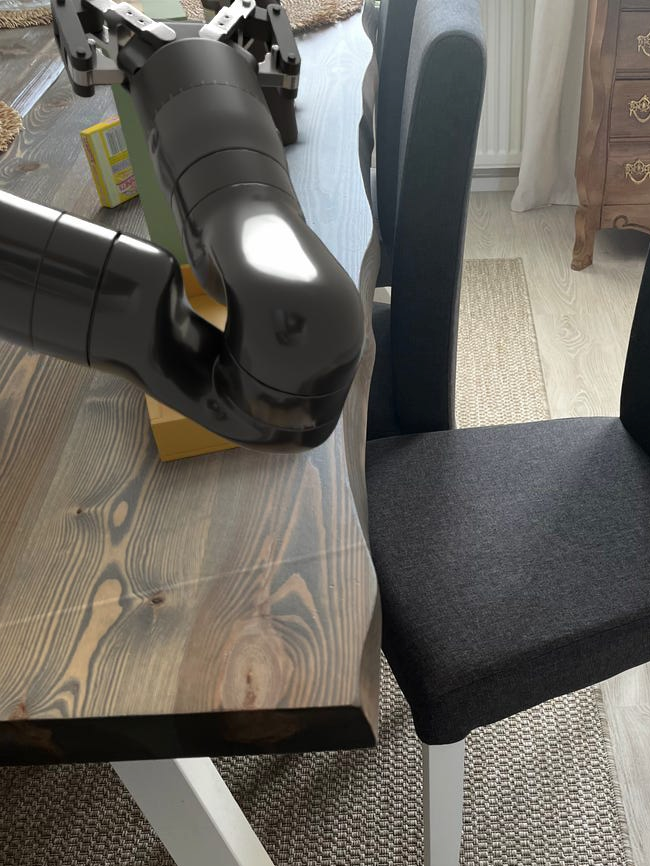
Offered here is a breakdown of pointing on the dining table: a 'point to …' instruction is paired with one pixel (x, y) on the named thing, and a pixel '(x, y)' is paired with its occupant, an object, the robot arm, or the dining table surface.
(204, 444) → the tray
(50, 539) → the dining table surface
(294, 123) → the bottle
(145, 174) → the stand
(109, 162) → the candy box
